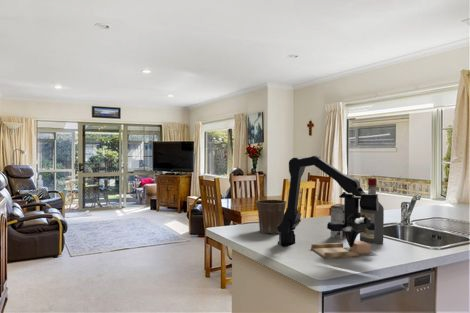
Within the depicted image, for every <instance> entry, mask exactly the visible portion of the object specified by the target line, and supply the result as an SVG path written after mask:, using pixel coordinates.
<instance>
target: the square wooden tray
mask: <svg viewBox="0 0 470 313" xmlns="http://www.w3.org/2000/svg"><path fill="white" fill-rule="evenodd" d="M310 248H311V250H312V251H313V252H315V253H316V254H317V255H319V256H321V257H322V258H323V259H325V260H331V259H348V258H349V259H350V258H352V259H353V258H354V259H355V258H359V257H360V256H359V252H358V251H351V252H350V251H348V250H346V249H344V248H345V247H344V243H343V242H335V243H334V242H333V243H332V242H329V243H311V247H310Z"/></svg>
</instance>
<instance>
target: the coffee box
mask: <svg viewBox="0 0 470 313" xmlns="http://www.w3.org/2000/svg"><path fill="white" fill-rule="evenodd" d="M343 211H344V203H342V204H341V203H338V204H334V205H331V206H330V222H338V223H340V224H344V223H343V220H344V213H343ZM330 238H335V239H340V240H347V239H346V237H345V235H344V233H343V231H331V230H330Z"/></svg>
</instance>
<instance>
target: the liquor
mask: <svg viewBox="0 0 470 313" xmlns="http://www.w3.org/2000/svg"><path fill="white" fill-rule="evenodd" d="M367 186H368V189H367V190H368V191H367V192H368V193H367V194H377V178H372V177H371V178H369V177H368V178H367ZM378 202H379V200H378ZM384 209H385V208H384V206H383V204H382V203H381V202H379V209H378V212H377V211H366V210H362V208H361V207H360V206H359V212H360V214H361V218H370V221H371V222H372V223H374V224H375V230H368V229H367V228H366V230H365V231H363V230H361V231H362V233H359V241H364V242H366V243H368V244H372V245H374V244H375V245H383V243H384V218H385V216H384V215H385V214H384V211H385V210H384Z"/></svg>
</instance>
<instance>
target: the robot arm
mask: <svg viewBox="0 0 470 313" xmlns="http://www.w3.org/2000/svg"><path fill="white" fill-rule="evenodd" d="M311 166H314V167H315V168H317V169H318V170H320V171H321V172H323V173H324V174H326V175H327V176H329V177H330V178H331V179H333V181H335V182H336V183H337V184H338V185H339V187H340V188H341V189H342V190H343V192H342V193H341V194H340V195H339V198H342V199H344V200H343V201H344V203H343V205H344V211H343V213H344V220H343V223H344V224H340V223H338V222H331V221H328V222H327V225H326V229H327V230H329V231H330V232H331V231H343V233H344V235H345V237H346V239H345V240H346V241H347V243H348V246H349V248H350V247H353V244H354V242H355V241H356V238H358V235H360V233H362V231H361V230H363V231H365V230H366V228H367V229H368V230H375V224H374V223H372V222H371V221H370V218H361V214H360V207H361V208H362V210H366V211H377V212H378V209H379V203H380V202H378V201H379V194H377V193H376V194H368V193H366V192H365V191H364V189H362V187H361V183H360V180H359V179H357V178H355V177H352V176H350V175H348V174H345V173H343V172H341V171H340V170H338V169H337V168H335V167H334V166H332V165H331V164H330V163H328V162H327V161H325V160H324V159H323V158H321V157H320V156H318V155H312V156H309V157H292V158H291V159H290V160H288V172H289V177H290V180H289V191H288V198H287V207H286V209H285V211H284V217H283V220H282V223H281V224H280V225H279V226H278V227H277V229H278V232H279V234H278V241H277V243H278V244H279V246H281V247H291V246H293V245H295V244H296V234H295V230H296V227H298V226H299V224H300V223H301V222H302V220H301V217H302V213H301V212H299V209H298V207H299V200H300V199H299V197H300V189H301V180H302V177H303V175H304V173H305V170H306V168H307V167H311Z"/></svg>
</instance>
